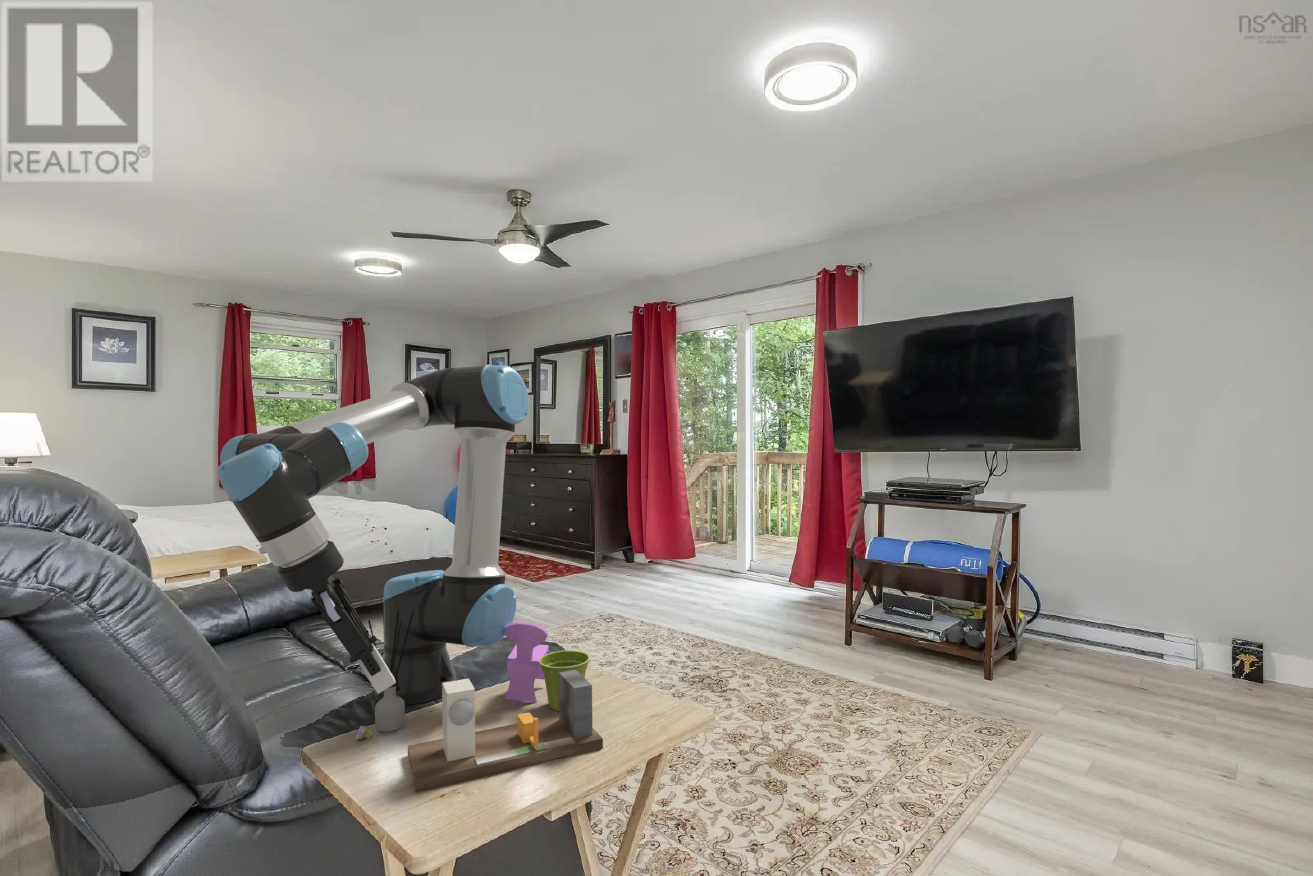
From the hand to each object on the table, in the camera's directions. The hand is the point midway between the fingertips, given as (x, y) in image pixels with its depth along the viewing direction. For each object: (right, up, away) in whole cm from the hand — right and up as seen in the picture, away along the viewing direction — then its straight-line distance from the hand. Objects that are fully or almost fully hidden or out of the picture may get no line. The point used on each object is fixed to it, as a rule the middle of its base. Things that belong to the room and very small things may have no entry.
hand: (386, 686), depth 94 cm
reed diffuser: (-5, -13, +14) cm, 20 cm away
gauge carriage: (+10, -11, +3) cm, 15 cm away
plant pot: (+23, -13, +25) cm, 36 cm away
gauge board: (+16, -13, +7) cm, 22 cm away
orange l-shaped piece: (+20, -11, +6) cm, 24 cm away
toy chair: (+15, -12, +30) cm, 36 cm away
